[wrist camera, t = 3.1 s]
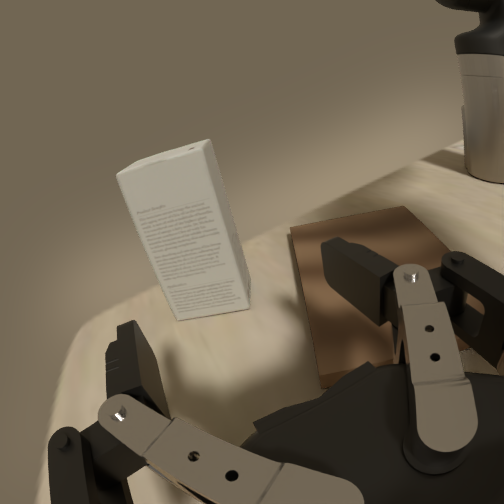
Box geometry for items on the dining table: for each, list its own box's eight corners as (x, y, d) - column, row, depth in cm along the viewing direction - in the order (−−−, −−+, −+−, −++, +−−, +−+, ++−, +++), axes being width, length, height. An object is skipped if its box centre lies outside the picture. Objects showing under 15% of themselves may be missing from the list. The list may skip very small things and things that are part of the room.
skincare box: (251, 278, 27) (213, 136, 21) (251, 311, 23) (203, 147, 17) (184, 291, 27) (135, 159, 22) (174, 322, 24) (112, 174, 18)
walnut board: (292, 238, 31) (289, 227, 31) (404, 216, 30) (403, 205, 29) (321, 388, 16) (319, 375, 15) (504, 333, 14) (509, 319, 14)
